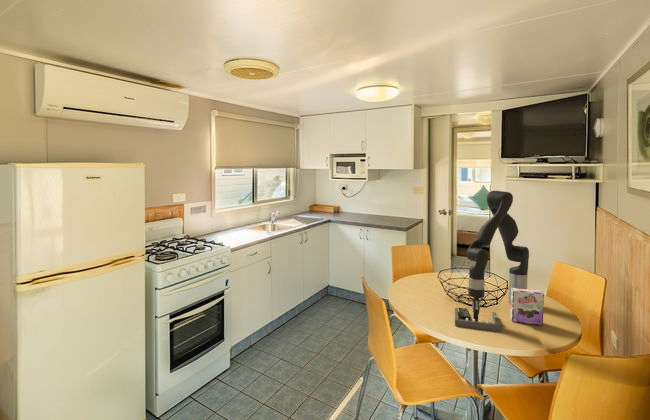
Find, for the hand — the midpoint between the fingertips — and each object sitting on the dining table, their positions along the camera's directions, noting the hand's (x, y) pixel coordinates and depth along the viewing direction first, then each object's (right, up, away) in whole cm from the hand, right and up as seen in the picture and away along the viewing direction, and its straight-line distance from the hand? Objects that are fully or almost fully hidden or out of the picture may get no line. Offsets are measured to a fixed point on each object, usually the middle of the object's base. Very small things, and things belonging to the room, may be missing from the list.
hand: (475, 320), depth 170 cm
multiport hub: (-2, -1, +9) cm, 9 cm away
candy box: (+26, -1, 0) cm, 26 cm away
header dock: (0, -1, 0) cm, 1 cm away
